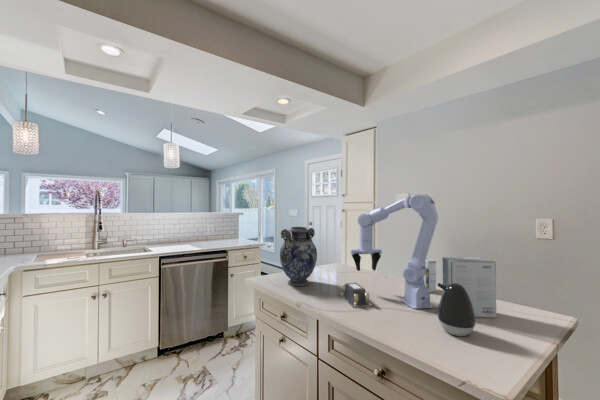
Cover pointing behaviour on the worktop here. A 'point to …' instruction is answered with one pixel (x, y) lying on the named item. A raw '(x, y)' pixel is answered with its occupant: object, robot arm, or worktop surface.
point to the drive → (355, 291)
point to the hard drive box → (474, 281)
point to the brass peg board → (356, 303)
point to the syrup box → (430, 275)
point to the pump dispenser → (456, 310)
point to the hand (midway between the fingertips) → (366, 270)
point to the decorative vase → (298, 255)
